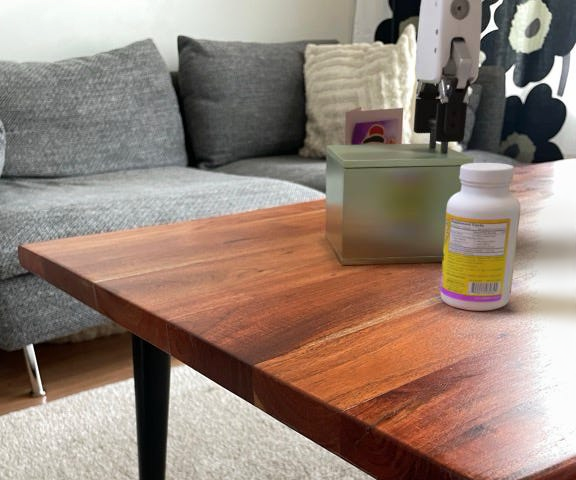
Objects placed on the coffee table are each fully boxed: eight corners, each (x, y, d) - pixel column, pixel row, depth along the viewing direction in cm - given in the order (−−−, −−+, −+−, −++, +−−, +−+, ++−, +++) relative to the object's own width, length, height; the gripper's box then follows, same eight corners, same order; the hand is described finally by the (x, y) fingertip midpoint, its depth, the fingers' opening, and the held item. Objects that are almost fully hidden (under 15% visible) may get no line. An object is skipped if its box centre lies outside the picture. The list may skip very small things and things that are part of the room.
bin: (425, 233, 97) (431, 150, 92) (457, 261, 84) (466, 166, 79) (325, 236, 96) (326, 152, 92) (341, 265, 83) (343, 168, 78)
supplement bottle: (464, 287, 75) (477, 158, 69) (522, 301, 70) (540, 165, 65) (425, 301, 70) (435, 166, 65) (484, 317, 66) (499, 173, 61)
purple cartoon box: (347, 223, 103) (350, 112, 97) (313, 216, 108) (314, 109, 102) (402, 213, 110) (407, 108, 103) (367, 206, 115) (370, 105, 109)
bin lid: (437, 149, 93) (440, 111, 91) (473, 165, 79) (477, 121, 77) (326, 151, 92) (326, 113, 90) (343, 168, 78) (344, 123, 76)
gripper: (514, -39, 70) (493, 145, 77) (460, -22, 86) (447, 130, 93) (438, -40, 70) (424, 145, 77) (398, -22, 85) (390, 130, 92)
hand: (437, 137), depth 85 cm, fingers open, 9 cm apart
